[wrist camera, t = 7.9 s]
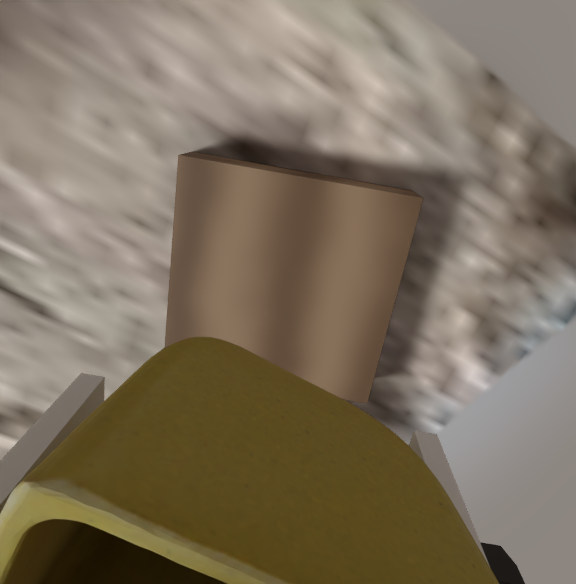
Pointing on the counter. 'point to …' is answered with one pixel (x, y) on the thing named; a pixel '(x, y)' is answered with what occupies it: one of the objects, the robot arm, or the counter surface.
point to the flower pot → (232, 488)
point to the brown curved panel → (289, 266)
